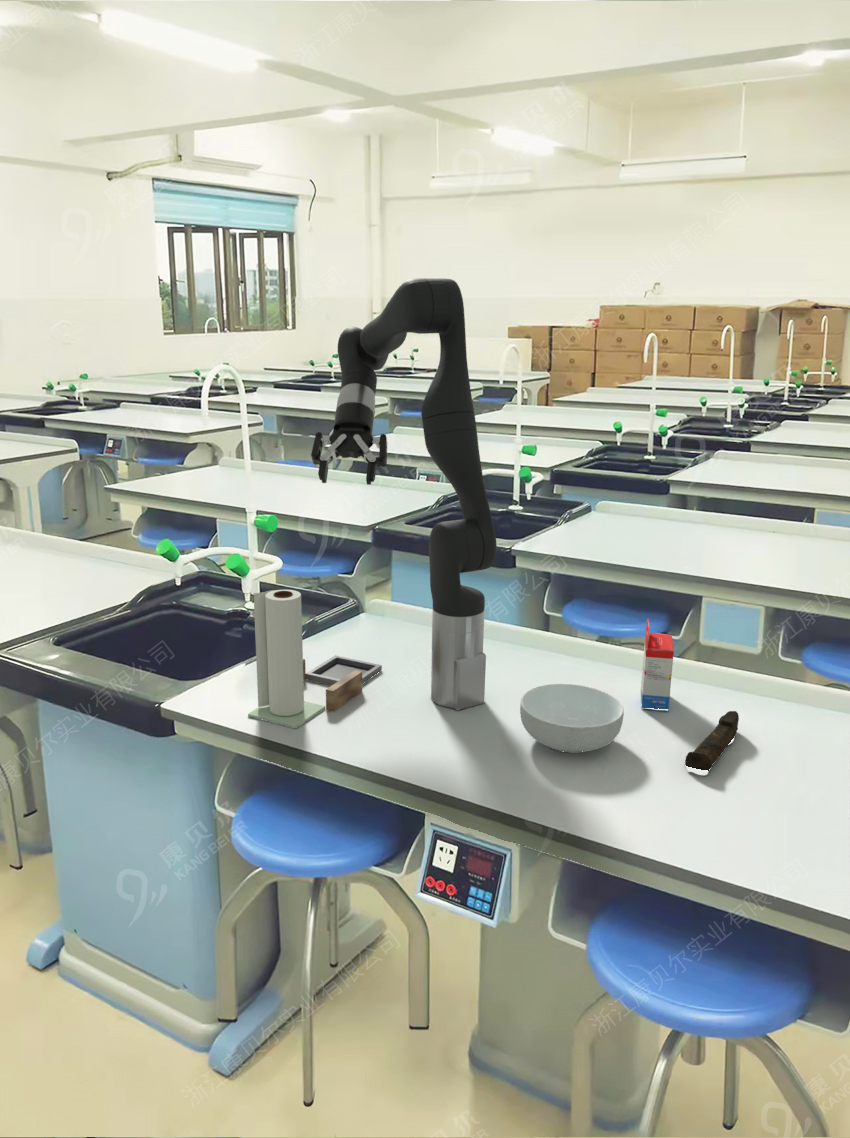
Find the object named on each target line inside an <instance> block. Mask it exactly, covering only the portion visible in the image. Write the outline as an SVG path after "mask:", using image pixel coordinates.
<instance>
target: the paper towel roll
mask: <svg viewBox="0 0 850 1138" xmlns="http://www.w3.org/2000/svg"><path fill="white" fill-rule="evenodd" d="M302 610H303V609H302V594H301V592H300V591H298V590H294V589H275V590H274V589H273V590H267V591H263V592H255V593H253V611H254V631H255V632H254V634H255V635H254V636H255V637H254V638H255V657H256V658H255V661H256V681H257V682H256V683H257V684H256V685H257V703H258V705H257V706H258V707H263V706H268V705H269V709H270V712H271V713H273V714H275V715H278V716H292V715H295V714H298V713H300V712H302V710H303V709H304V701H305V694H304V693H305V689H304V686H305V685H304V680H303V659H304V652H303V649H304V647H303V645H304V644H303V611H302ZM258 707H257V708H258Z"/></svg>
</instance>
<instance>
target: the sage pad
mask: <svg viewBox="0 0 850 1138" xmlns="http://www.w3.org/2000/svg"><path fill="white" fill-rule="evenodd" d="M322 710H323V711H324V710H326V705H322V704H317V703H313V702H309V701H307V700H304V709H303V710H302V712H300V713H298V714H295V715H292V716H278V715H275V714H273V713H271V712H270V709H269V705H268V706H263V707H257V708H255V709H253V710H252V711H250V712H248V713H247V716H249V718H252V717H254V718H253V719H256V718H258V719H257V720H260V719H263V720H262V721H264V720H266V721H265V722H268V721H270V722H269V723H271V722H273V723H272V724H275V723H277V724H276V725H279V724H282V725H281V726H283V725H285V726H284V727H287V726H288V727H287V728H291V727H293V728H292V729H295V728H297V727H298V728H300V727H301V726H302V724H303V723H304V724H306V723H307V722H308V721H310V720H311V719H312V717H313V716H314V717H315V715H316V714H317V715H318V714H320V713H321V712H323V711H322ZM317 715H316V716H317ZM314 717H313V718H314ZM309 719H310V720H309ZM306 721H307V722H306ZM304 724H303V725H304ZM300 725H301V726H300ZM299 726H300V727H299ZM298 728H297V729H298Z"/></svg>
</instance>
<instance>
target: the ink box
mask: <svg viewBox="0 0 850 1138" xmlns="http://www.w3.org/2000/svg"><path fill="white" fill-rule="evenodd" d="M644 634H645V637H644V645H643V646H644V647H643V648H644V649H643V659H642V671H641V680H640V681H641V682H640V702H641V703H640V705H641V704H642V706H641V709H642V708H654V709H658V708H659V709H669V710H670V699H671V687H672V686H671V684H672V672H673V664H674V654H675V649H674V640H673V635H672V634H665V633H655V632H652V633H651V632H650V619H649V618H647V620H646V626H645V633H644Z"/></svg>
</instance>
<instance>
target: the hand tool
mask: <svg viewBox="0 0 850 1138" xmlns="http://www.w3.org/2000/svg"><path fill="white" fill-rule="evenodd" d="M739 719H740V718H739V712H737V711H736V710H730V711H727V712H726V713H725V714H723V715H722V716H721V717H719V720H718V724H717V725H716V726H715V727H714V729H713V730H712V731H711V732H710V733H709V734H708V735H707V736H706V737H705V738H704V739H703V740H702V742H700V744H699V745H698V746H697V747H696V749H694V750H693V751H689V752H688V753H687V754H686V756H685V759H684V763H685V764H684V766H685V765H686V766H688V767H692V768H696V769H701V770H708V771H709V769H710V768H711V767H712V768H713V765H714V764H715V763H716V762H717V760H719V757H721V756H720V755H722V754H723V753H724V752H723V751H725V750H726V749H727V748H728V746H729V745H728V744H729V743H730V742H731V740H732V739H733V738H734V736H735V735H736V736H737V732H738V727H739ZM736 736H735V737H736ZM726 747H727V748H726ZM725 748H726V749H725ZM724 749H725V750H724ZM722 752H723V753H722ZM721 753H722V754H721ZM715 761H716V762H715ZM714 762H715V763H714ZM713 763H714V764H713ZM712 764H713V765H712ZM712 768H711V769H712ZM711 769H710V770H711Z"/></svg>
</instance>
